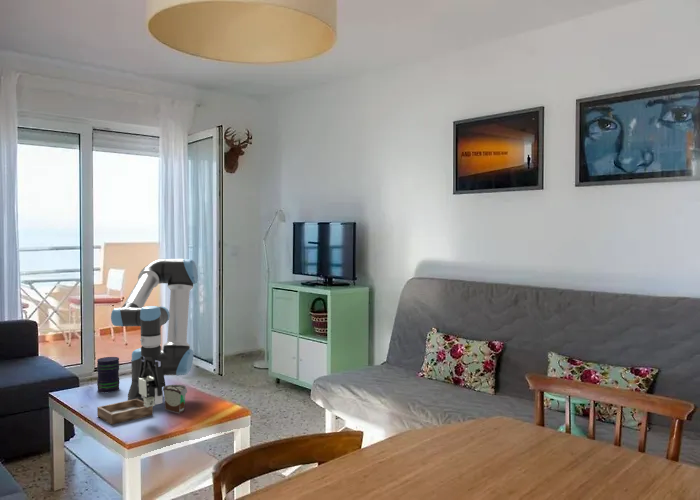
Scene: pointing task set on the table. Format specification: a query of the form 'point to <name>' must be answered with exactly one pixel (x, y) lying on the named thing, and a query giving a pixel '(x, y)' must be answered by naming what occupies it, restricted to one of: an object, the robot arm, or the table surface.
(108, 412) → the walnut box
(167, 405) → the food container
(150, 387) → the pneumatic valve
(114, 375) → the storage jar
